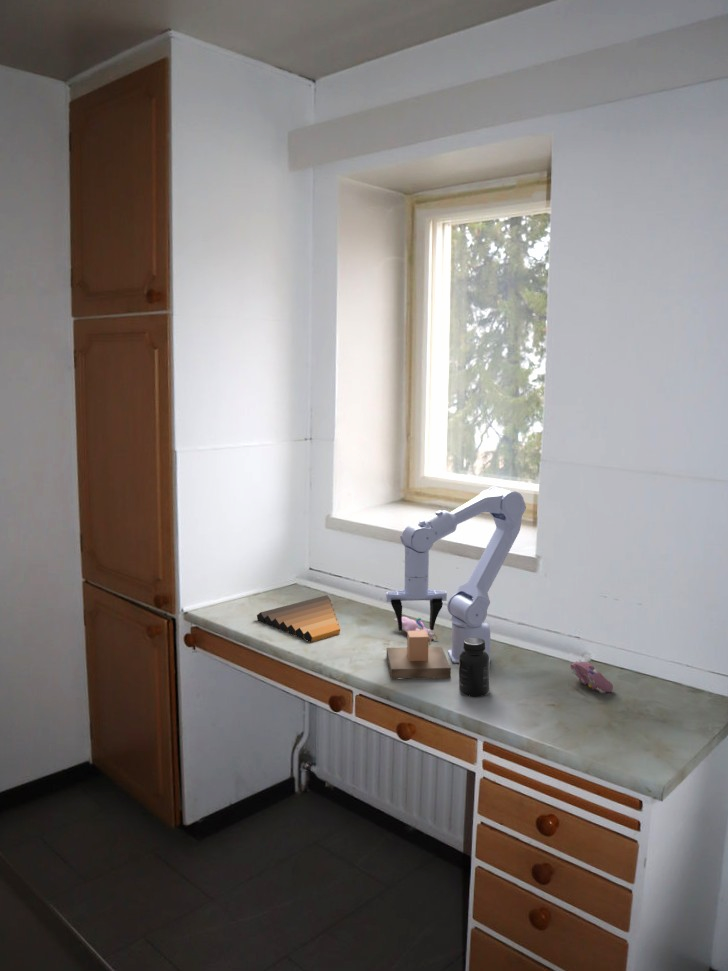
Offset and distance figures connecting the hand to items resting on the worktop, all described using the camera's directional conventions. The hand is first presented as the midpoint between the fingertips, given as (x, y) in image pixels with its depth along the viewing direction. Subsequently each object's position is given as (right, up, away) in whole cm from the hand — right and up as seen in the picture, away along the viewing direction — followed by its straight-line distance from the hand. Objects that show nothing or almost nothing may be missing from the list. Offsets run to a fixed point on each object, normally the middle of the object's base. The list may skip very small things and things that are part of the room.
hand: (415, 629), depth 197 cm
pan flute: (-26, -5, +35) cm, 44 cm away
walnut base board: (0, -9, +1) cm, 9 cm away
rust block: (0, -7, 0) cm, 7 cm away
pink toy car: (+40, -12, -10) cm, 42 cm away
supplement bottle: (+12, -12, -14) cm, 22 cm away
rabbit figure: (+1, -6, +23) cm, 24 cm away
